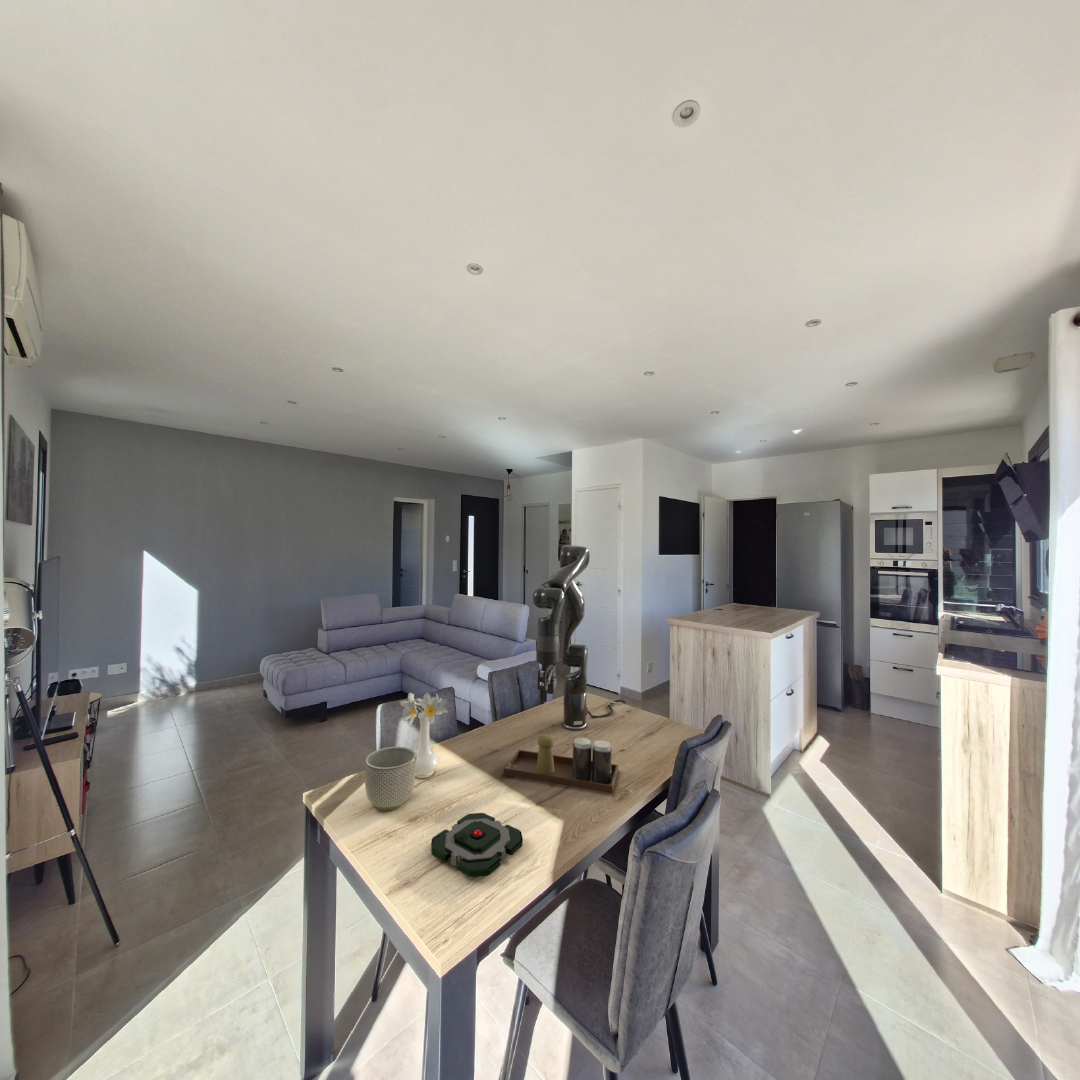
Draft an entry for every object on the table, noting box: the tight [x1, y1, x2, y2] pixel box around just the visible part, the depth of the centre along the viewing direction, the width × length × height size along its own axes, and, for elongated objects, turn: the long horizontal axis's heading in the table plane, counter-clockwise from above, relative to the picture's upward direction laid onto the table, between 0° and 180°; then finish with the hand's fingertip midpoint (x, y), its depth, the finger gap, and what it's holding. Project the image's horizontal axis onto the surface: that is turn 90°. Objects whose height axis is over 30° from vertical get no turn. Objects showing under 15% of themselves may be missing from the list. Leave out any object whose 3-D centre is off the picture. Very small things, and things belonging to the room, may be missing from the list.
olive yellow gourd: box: [536, 733, 555, 774], centre depth 147 cm, size 6×6×11 cm
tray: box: [503, 749, 619, 794], centre depth 145 cm, size 14×34×2 cm, turn 74°
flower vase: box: [399, 692, 449, 779], centre depth 144 cm, size 13×18×25 cm
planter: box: [363, 746, 417, 812], centre depth 126 cm, size 14×14×13 cm
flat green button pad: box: [430, 812, 524, 878], centre depth 107 cm, size 18×18×5 cm
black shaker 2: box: [592, 739, 613, 784], centre depth 141 cm, size 6×6×11 cm
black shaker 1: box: [572, 737, 593, 781], centre depth 143 cm, size 6×6×11 cm
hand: (546, 697), depth 149 cm, fingers open, 8 cm apart
